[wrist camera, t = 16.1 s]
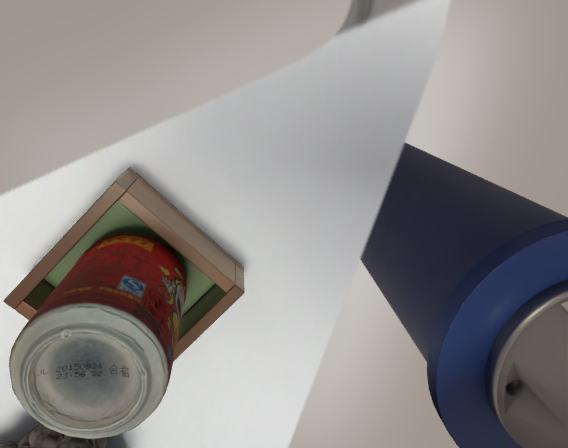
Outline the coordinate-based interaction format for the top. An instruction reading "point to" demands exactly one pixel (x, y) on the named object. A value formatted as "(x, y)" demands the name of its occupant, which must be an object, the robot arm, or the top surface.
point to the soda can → (103, 340)
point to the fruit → (54, 440)
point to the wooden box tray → (152, 223)
